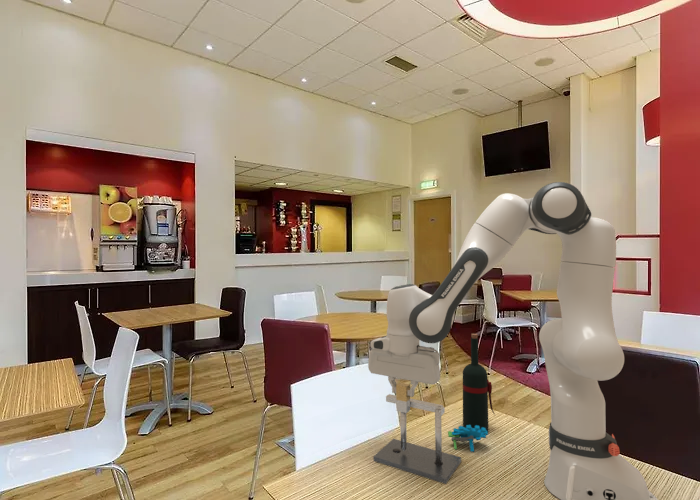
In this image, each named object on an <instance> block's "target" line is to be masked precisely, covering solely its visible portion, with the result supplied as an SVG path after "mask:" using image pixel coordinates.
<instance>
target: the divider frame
mask: <svg viewBox="0 0 700 500" xmlns="http://www.w3.org/2000/svg"><path fill="white" fill-rule="evenodd" d="M385 401H386V402H387V403H390V404H391V403H392V404H395V405H396V395H395V394H390V393H389V394H387V395H386V396H385ZM410 408H413V409H419V410H424V411H427V412H432V413H434V436H435V437H434V438H435V439H434V441H435V442H434V445H435V448H434V450H435V463H436V464H438V465H440V464H442V452H443V451H442V449H443V447H442V444H443V442H442V416H443V415H444V414H445V413H446V411H445V410H446V409H445V406H444V405H443V404H438V403H434V402H429V401H424V400H421V399H414V398H410Z"/></svg>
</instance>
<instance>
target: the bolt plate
mask: <svg viewBox="0 0 700 500" xmlns="http://www.w3.org/2000/svg"><path fill="white" fill-rule="evenodd" d="M373 462H376V463H379V464H382V465H385V466H389V467H392V468H394V469H397V470H401V471H404V472H407V473H411V474H413V475H416V476H420V477H423V478H426V479H429V480H432V481H435V482H439V483H441V484H445V485H447V483H448V481H449V480H450V478H451V477H452V475H454V473H455V471H456V470H457V469H458V467H459V466H460V464H461V462H462V457H461V456H457V455H454V454H451V453H447V452H443V451H442V464H440V465H438V464H436V463H435V449H432V448H428V447H427V446H426V447H425V446H421V445H418V444H414V443H411V442H408V441H407V449H406V450H405V451H403V450H402V449H401V439H396V438H392V439H391V440H390V441H389V442H388V443H387V444H386V445H385V446H383V448H381V449H380V450H379V451H377V452H376V453H375V455H373Z"/></svg>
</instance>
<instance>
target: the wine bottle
mask: <svg viewBox="0 0 700 500" xmlns="http://www.w3.org/2000/svg"><path fill="white" fill-rule="evenodd" d="M470 335H471V337H470V360H471V361H470V363H469V364H467V365H465V367H463V370H462V426H463V427H465V428H466V425H471V427H472V428H475V425H478V426H479V427H480V429H481V428H482V427H484V428H486V430H487V431H488V432H489V408H490V410H491V411H492V413H493V415H494V416H496V414H495V412H494V410H493V403H492V396H491V395H492V391H493V390H492V389H493V384H492V381H489V379H488V372H487V370H486V369H485V367H484V366H482V365H481V364H479V338H478V337H479V334H477V333H471V334H470Z"/></svg>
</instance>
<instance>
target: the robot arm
mask: <svg viewBox="0 0 700 500" xmlns="http://www.w3.org/2000/svg"><path fill="white" fill-rule="evenodd" d="M591 211H592V210H591V209H590V208H589V206H588V203H587V202H586V200H585V198H584V196H583V193H581V191H580V190H579V188H577V186H574V185H573V184H571V183H570V182H569V183H568V182H564V181H555V182H551V183H548V184H546V185H544V186H542V187H541V188H540V189H538V190H537V191H536V192H535V194H534V195H533V197H530V198H523V197H521V196H519V195H518V194H516V193H515V194H514V193H508V192H505V193H501V194H499V195H497V197H496V198H494V200H492V201H491V203H490V204H489V205H488V206H487V207H486V208H485V209H484V210H483V212H482V213H481V214H480V215H479V216H478V218H477V219H476V221H475V222H474V223H473V225H472V226H471V228H470V229H469V231H468V233H467V234H466V236H465V238H464V241H463V243H462V245H461V247H460V250H459V253H458V256H457V258H456V260H455V262H454V264H453V266H452V268H451V269H450V271H449V272H448V274H447V275H446V276H445V278H444V279H443V281H442V282H441V284H440V285H439V286H438V288H437V289H436V290H435V291H434V293H433V294H430V293H428V292H426V291H424V290H423V289H421V288H419V286H417V284H413V283H412V284H411V283H409V284H402V285H397V286H396V285H395V286H394V287H393V288H391V289H390V290H389V292H388V293H387V299H386V301H387V302H386V319H387V329H386V335H384V336H382V337H378V338H375V339H373V340H371V341H370V348H371V350H370V351H369V353H368V360H367V361H368V363H367V367H368V370H369V372H370V373H371V374H374V375H378V376H379V375H380V376H384V377H387V379H388V383H389V384H390V387H391V390H392V391H391V392H392V394H396V385H397V384H398V383H397V382H396V379H402V380H406V381H407V380H408V381H410V385H412V386H410V388H409V389H407V396H410V398H413V397H414V396H415V390H416V388H417V386H418V384H419V383H422V384H428V385H435V384H437V383H438V382H440V380H441V369H440V361H441V360H440V359H441V357H440V353H439V351H438V350H437V349H435V347H432V346H431V347H429V346H428V347H427V346H424V345H420V341H421V342H422V343H423V342H424V343H426V344H438V343H440V342H441V341H444V340H445V339H446V338H447V336H448V335H449V333H450V331H451V327H452V325H453V323H454V321H455V318H456V317H455V315H456V314H455V312H456V310H457V309H458V307H459V306H460V305H461V303H462V302H463V300H464V298H465V297H466V296H467V295H468V293H469V291H470V290H471V289H472V288H473V286H474V285H475V283H477V282H478V280H479V279H480V278H481V277H483V276H485V274H486V273H488V272H489V271H491V270H492V269H493V268H495V266H497V265H498V264H499V263H500V262H501V261H502V260H503V259H504V258H505V257H506V256H507V255H508V254H509V252H510V251H511V249H512V248H513V247H514V245H515V244H516V243H517V242H518V240H519V239H520V237H521V236H522V235H523V234H524V233H525V232H526V231H528V230H530V231H534V232H537V233H542V234H545V235H546V234H547V235H556V234H557V236H558V237H559V238H560V241H561V246H562V247H561V248H562V249H561V257H560V263H559V271H558V277H557V279H558V280H557V286H556V287H557V288H556V297H557V299H558V302H559V306H560V314H561V315H560V316H561V318H554V319H551V320H548V321H547V322H545V323H544V324H543V325H542V326H541V328H540V331H539V334H538V340H539V342H540V345H541V349H542V351H543V356H544V364H545V370H546V374H547V380H548V383H549V393H550V418H551V419H550V421H551V422H550V423H549V428H548V445H549V450H550V452H549V462H548V466H547V471H546V475H545V476H544V481H543V483H544V486H545V488H546V489H547V490H548V491H549V492H550V494H552V495H553V496H555V497H556V498H557V499H559V500H659V499H658V498H657V496H655V494H654V493H652V492H651V491H650V490H649V488H648V484H647V482H646V480H645V478H644V476H643V474H642V472H641V471H640V470H639V469H638V468H637V467H635V465H633V463H630V462H629V461H628V460H627V459H626V458H624V457H623V456H622V455H621V454H620V452H621V451H620V447H619V445H618V444H617V443H618V442H617V440H616V437H615V435H614V433H612V434H611V435H610V434H609V433H607V432H606V431H607V430H606V429H607V428H606V400H605V397H604V394H603V392H602V389H601V388H600V385H599V381H608V380H611V379H613V378H615V377H617V376H618V375H619V373H620V372H621V371H622V369H623V367H624V364H625V354H624V351H623V348H622V346H621V345H620V343H619V341H618V339H617V335H616V328H615V321H614V317H613V315H614V314H613V305H612V303H613V299H612V297H613V288H614V279H615V271H616V261H617V239H616V238H617V237H616V229H615V227H614V225H613V224H612V223H610V222H609V221H608V220H606V219H603V218H599V217H594V216H592V212H591Z"/></svg>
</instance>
